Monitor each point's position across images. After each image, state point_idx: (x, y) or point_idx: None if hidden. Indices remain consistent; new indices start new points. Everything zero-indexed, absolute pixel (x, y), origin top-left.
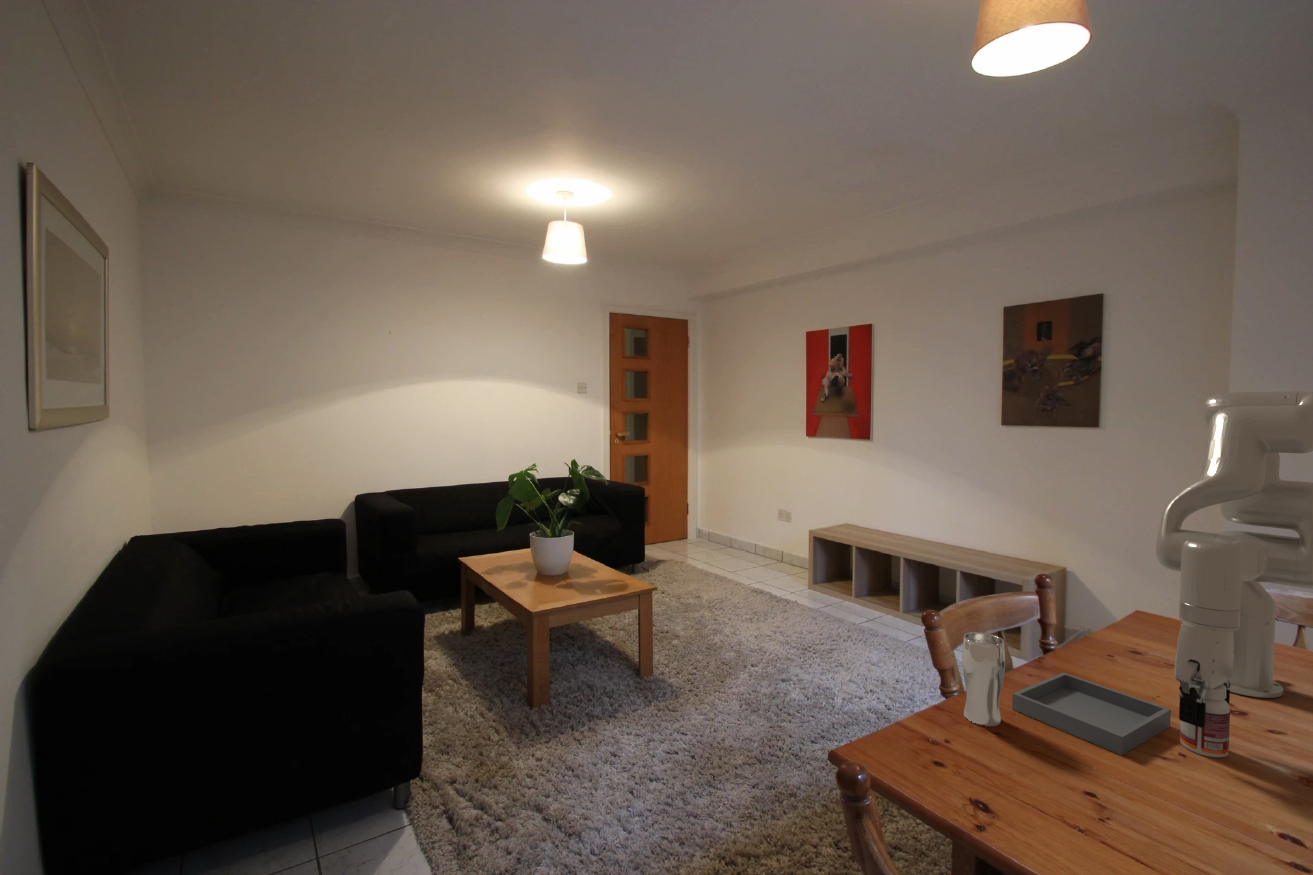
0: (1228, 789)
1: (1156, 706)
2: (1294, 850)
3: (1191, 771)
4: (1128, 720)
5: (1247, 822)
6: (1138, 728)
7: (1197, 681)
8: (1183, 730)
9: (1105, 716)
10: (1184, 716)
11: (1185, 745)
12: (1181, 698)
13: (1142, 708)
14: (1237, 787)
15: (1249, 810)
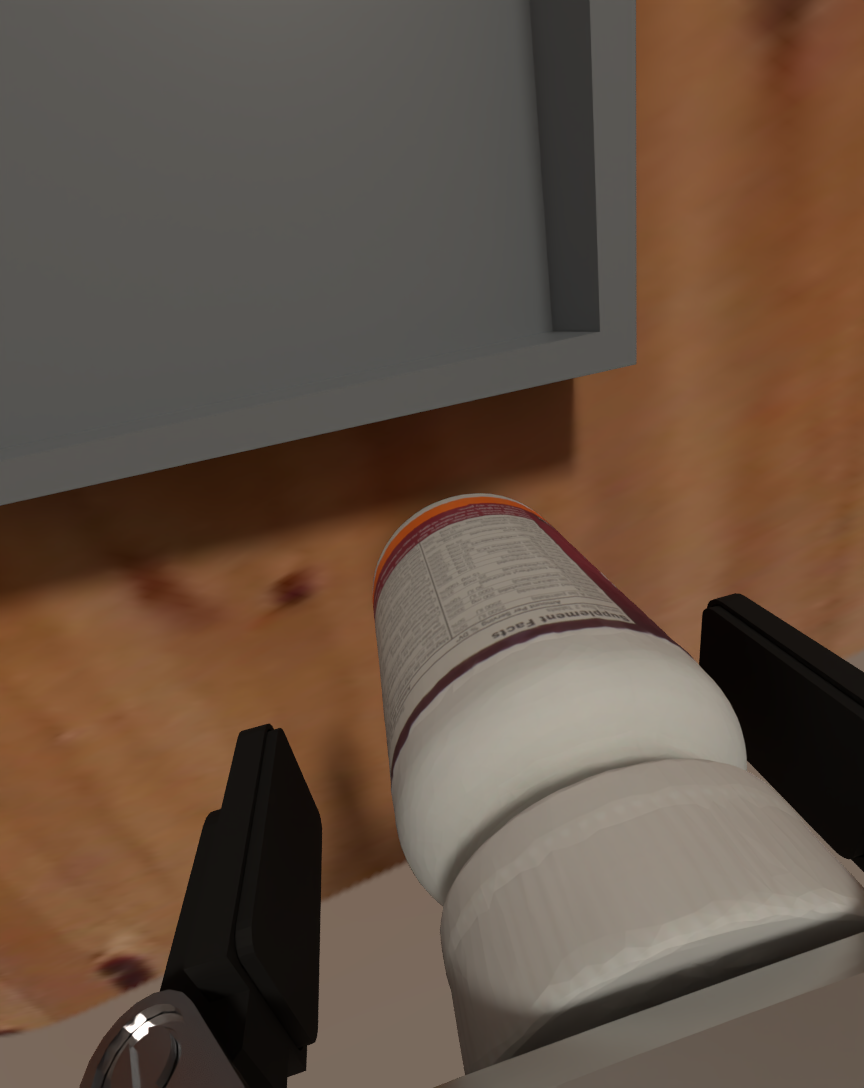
0: (209, 802)
1: (595, 276)
2: (78, 1003)
3: (182, 697)
4: (338, 203)
5: (63, 925)
6: (50, 493)
7: None
8: (390, 586)
9: (200, 43)
10: (211, 817)
11: (377, 563)
12: (201, 943)
13: (562, 166)
14: None
15: (147, 886)
